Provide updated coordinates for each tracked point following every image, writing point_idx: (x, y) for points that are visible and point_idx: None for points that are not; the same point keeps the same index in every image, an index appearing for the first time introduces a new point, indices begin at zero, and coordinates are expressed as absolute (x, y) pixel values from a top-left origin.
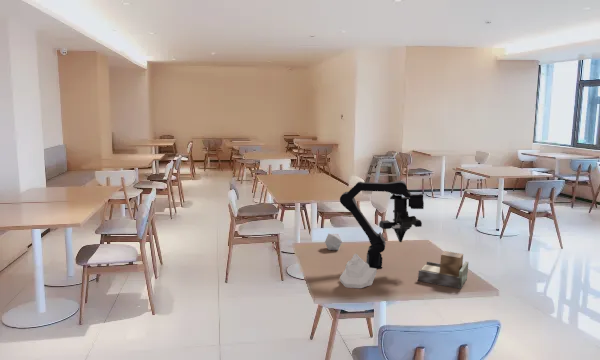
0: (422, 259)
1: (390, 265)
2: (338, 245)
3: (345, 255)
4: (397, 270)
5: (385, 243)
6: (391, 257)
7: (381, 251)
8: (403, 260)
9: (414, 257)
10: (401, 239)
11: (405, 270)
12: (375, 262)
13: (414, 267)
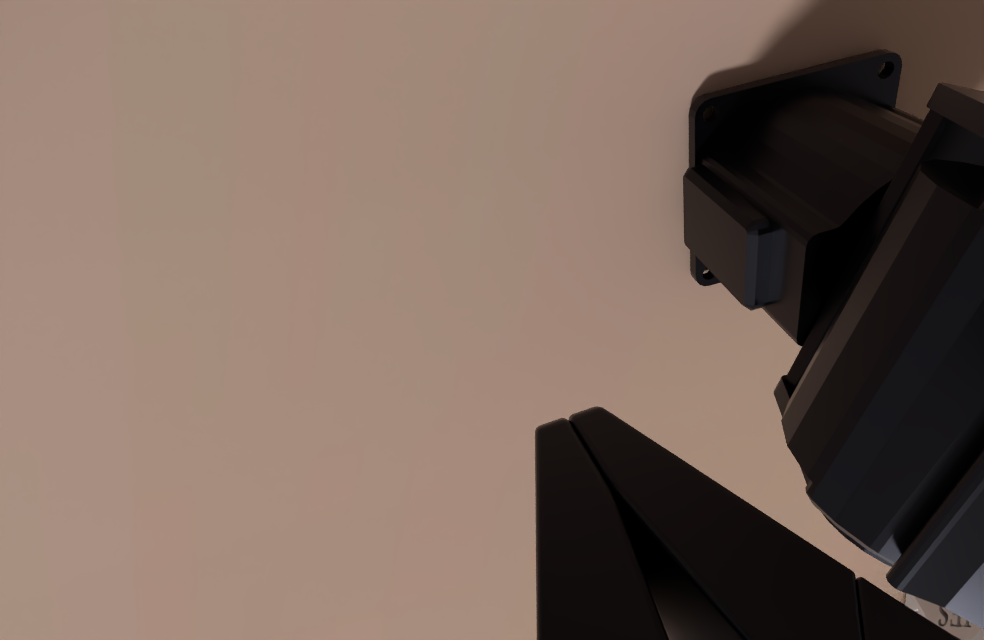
0: (42, 595)
1: (522, 271)
2: (956, 614)
3: None
4: (460, 39)
5: (838, 463)
6: (446, 552)
7: (941, 168)
8: (307, 499)
9: (157, 625)
10: (590, 485)
11: (314, 64)
12: (853, 112)
13: (146, 257)
